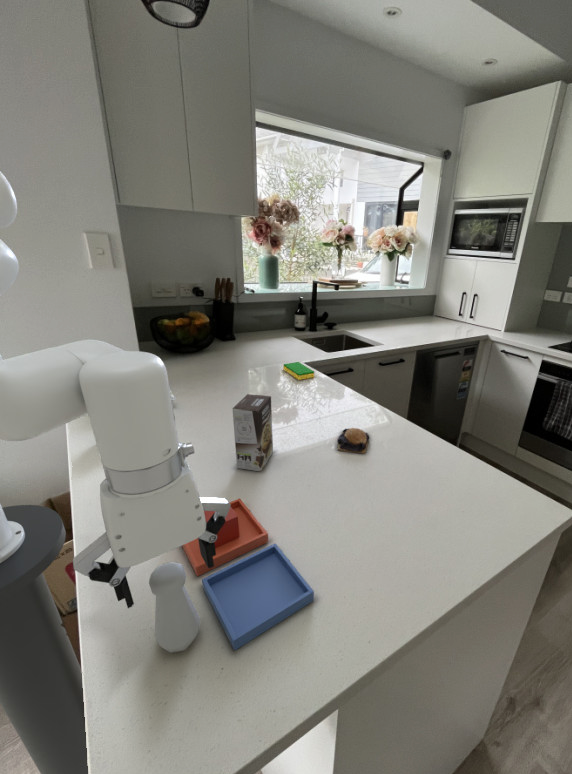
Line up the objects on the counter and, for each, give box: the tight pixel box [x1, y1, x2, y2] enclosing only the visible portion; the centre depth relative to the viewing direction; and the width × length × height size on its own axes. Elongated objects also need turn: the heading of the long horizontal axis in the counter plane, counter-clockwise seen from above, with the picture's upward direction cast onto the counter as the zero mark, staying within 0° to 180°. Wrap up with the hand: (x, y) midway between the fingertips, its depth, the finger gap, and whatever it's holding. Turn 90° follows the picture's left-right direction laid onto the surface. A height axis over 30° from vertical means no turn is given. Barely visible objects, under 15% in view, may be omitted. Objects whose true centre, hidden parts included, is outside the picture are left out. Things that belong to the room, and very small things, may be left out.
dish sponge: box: [282, 361, 315, 381], centre depth 152 cm, size 7×14×2 cm, turn 33°
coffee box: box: [231, 393, 274, 472], centre depth 91 cm, size 9×6×16 cm
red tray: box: [181, 497, 269, 577], centre depth 70 cm, size 13×12×2 cm
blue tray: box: [201, 543, 315, 651], centre depth 59 cm, size 13×12×2 cm
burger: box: [337, 427, 370, 455], centre depth 103 cm, size 11×8×4 cm
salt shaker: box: [148, 561, 201, 654], centre depth 50 cm, size 6×6×13 cm
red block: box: [204, 507, 240, 548], centre depth 69 cm, size 5×5×5 cm
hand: (170, 578), depth 48 cm, fingers open, 9 cm apart
